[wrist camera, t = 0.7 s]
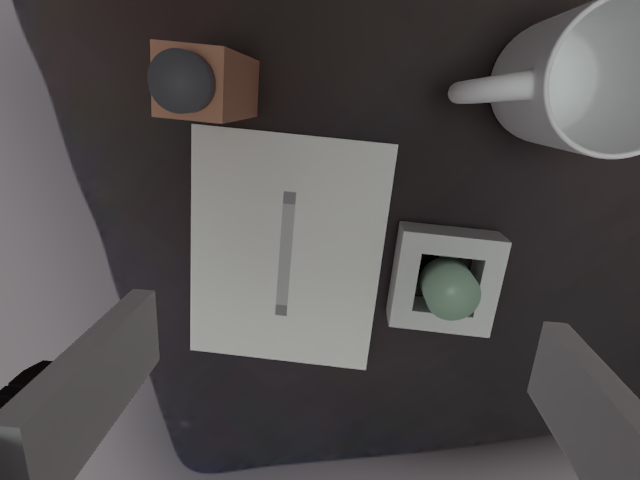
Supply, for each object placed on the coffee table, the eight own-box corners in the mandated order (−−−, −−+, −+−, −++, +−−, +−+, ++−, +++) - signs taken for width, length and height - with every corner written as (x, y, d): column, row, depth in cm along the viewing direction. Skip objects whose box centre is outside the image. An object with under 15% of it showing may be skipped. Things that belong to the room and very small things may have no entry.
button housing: (399, 220, 36) (403, 231, 33) (498, 231, 36) (511, 242, 33) (385, 309, 39) (388, 326, 36) (478, 320, 38) (489, 337, 36)
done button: (423, 254, 35) (430, 267, 32) (474, 259, 35) (486, 273, 32) (415, 300, 36) (421, 317, 33) (465, 305, 36) (475, 323, 33)
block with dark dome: (206, 56, 33) (138, 35, 22) (259, 61, 33) (216, 42, 22) (205, 111, 35) (140, 117, 24) (257, 116, 34) (215, 125, 24)
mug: (433, 149, 34) (468, 169, 25) (433, 31, 32) (472, 1, 22) (597, 137, 33) (700, 154, 24) (610, 15, 31) (731, -23, 21)
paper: (192, 123, 35) (191, 123, 35) (397, 144, 34) (398, 144, 34) (191, 348, 41) (190, 349, 41) (365, 368, 40) (365, 370, 40)
